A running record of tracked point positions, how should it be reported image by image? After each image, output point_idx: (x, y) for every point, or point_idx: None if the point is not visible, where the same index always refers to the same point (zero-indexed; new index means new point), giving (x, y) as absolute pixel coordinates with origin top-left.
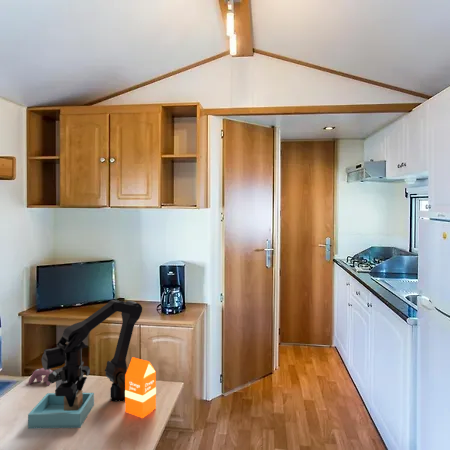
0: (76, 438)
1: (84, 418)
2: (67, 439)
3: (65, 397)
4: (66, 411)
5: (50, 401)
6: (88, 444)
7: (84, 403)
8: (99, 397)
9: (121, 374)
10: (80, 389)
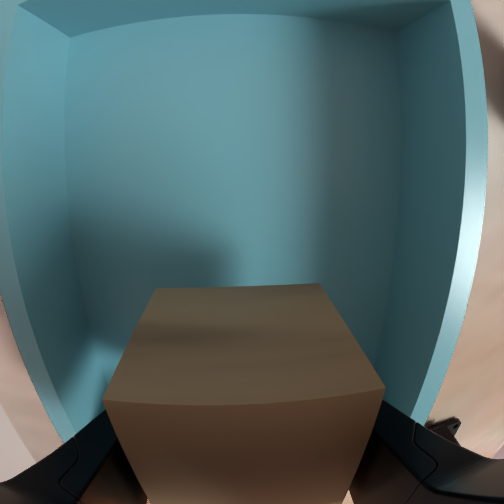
0: (25, 388)
1: None
2: (4, 351)
3: (113, 417)
4: (271, 243)
5: (411, 37)
6: (20, 431)
7: None
8: (456, 366)
9: None
10: (357, 498)
